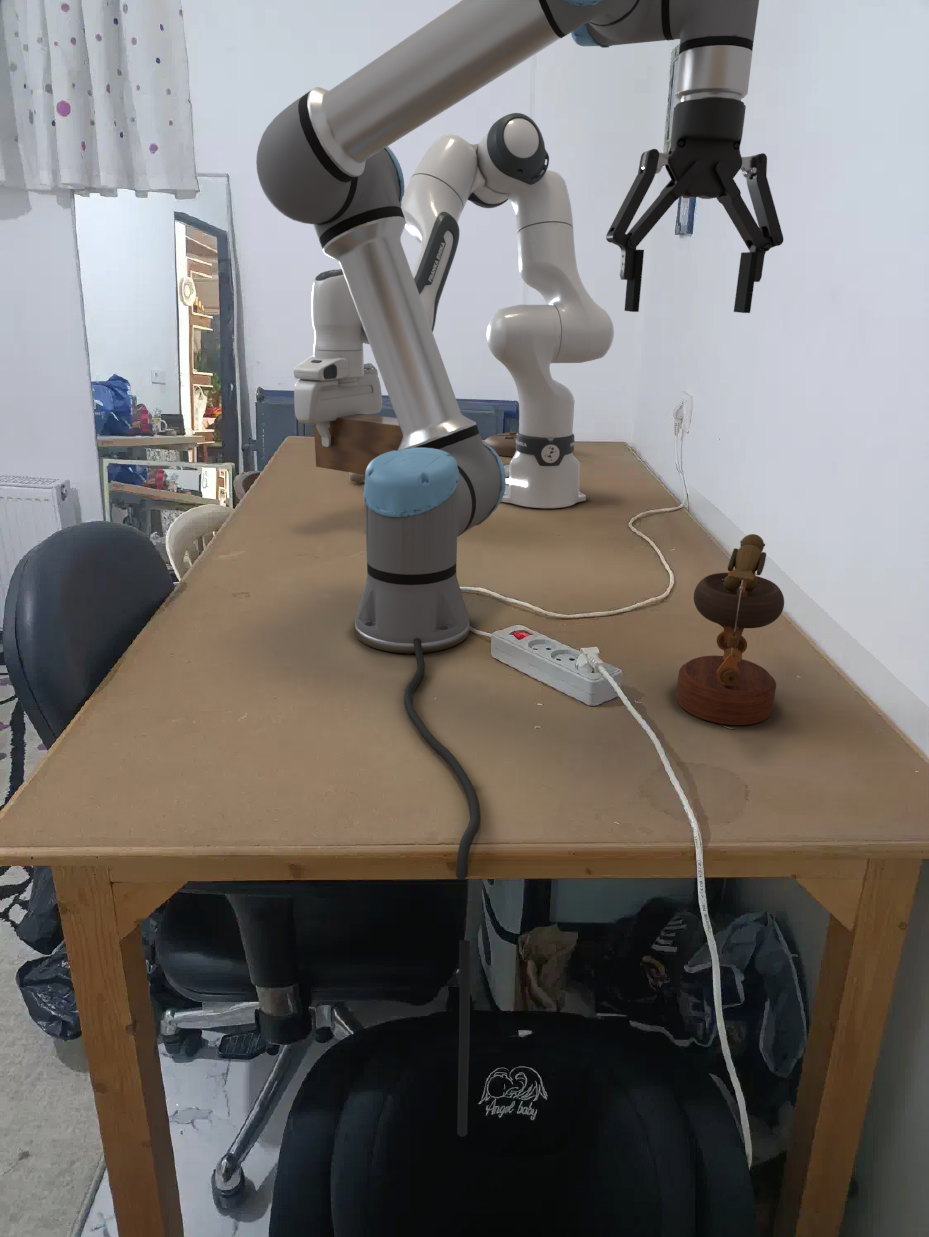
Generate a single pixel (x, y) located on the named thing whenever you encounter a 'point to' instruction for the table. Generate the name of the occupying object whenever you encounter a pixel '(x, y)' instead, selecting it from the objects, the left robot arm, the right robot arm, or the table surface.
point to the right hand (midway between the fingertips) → (342, 443)
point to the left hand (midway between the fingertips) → (687, 312)
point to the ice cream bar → (503, 443)
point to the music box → (733, 642)
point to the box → (357, 442)
